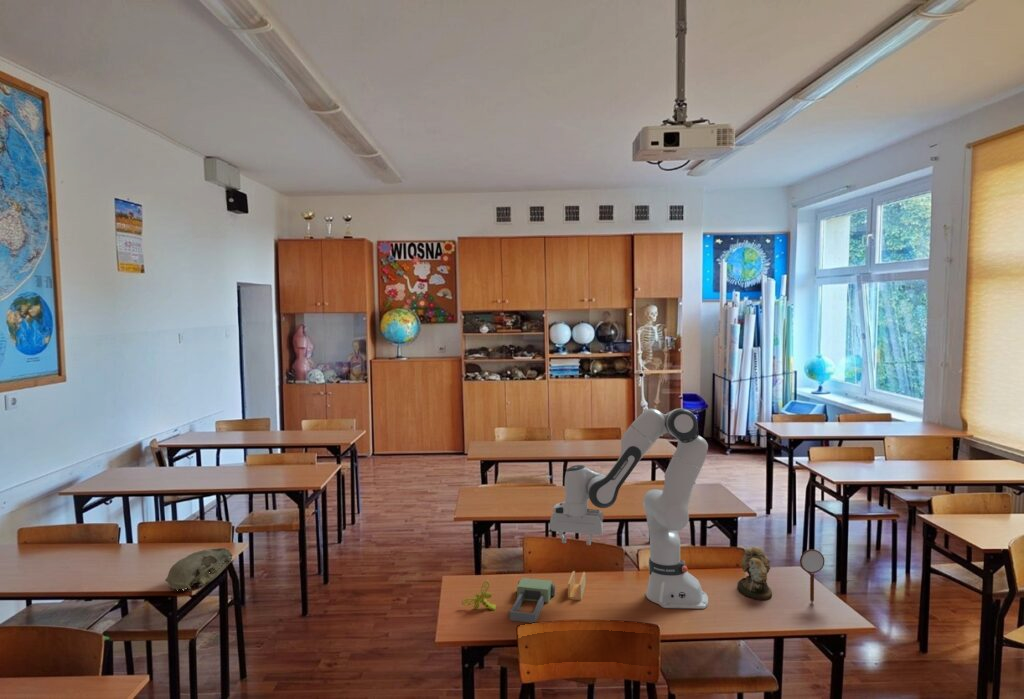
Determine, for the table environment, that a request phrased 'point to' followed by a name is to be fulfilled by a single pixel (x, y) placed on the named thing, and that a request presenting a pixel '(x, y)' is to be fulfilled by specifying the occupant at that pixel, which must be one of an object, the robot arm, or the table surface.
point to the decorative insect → (483, 601)
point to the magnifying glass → (812, 566)
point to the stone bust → (755, 574)
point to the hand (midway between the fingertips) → (576, 543)
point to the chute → (576, 587)
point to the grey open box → (531, 598)
